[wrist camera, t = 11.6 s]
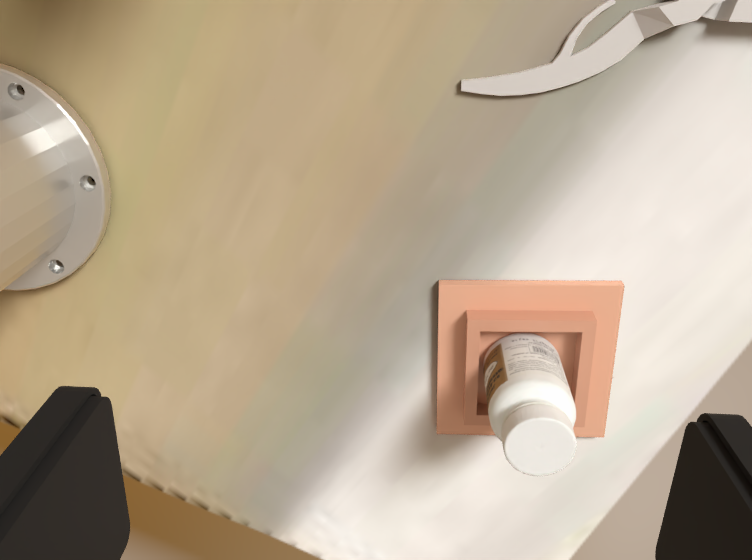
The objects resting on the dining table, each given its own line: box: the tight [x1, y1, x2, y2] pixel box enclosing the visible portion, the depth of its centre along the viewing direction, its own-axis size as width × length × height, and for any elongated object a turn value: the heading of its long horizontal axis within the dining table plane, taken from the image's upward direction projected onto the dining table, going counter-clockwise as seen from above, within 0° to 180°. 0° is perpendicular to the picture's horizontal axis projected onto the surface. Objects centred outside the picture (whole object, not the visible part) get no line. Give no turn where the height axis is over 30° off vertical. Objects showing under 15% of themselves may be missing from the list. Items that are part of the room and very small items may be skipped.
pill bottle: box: [483, 333, 577, 476], centre depth 37 cm, size 4×4×8 cm
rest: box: [437, 280, 624, 437], centre depth 40 cm, size 10×10×2 cm
